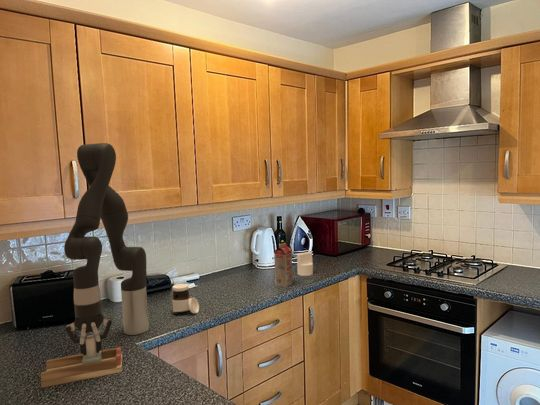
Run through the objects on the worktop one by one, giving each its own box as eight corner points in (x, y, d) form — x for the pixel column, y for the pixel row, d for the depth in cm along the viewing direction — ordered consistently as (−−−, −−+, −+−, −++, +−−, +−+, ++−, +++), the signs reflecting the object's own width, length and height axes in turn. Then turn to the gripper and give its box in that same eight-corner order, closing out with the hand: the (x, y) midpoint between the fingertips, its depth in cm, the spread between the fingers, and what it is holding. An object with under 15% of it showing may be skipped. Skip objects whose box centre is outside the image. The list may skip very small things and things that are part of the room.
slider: (84, 361, 125) (82, 334, 124) (101, 358, 127) (99, 332, 126) (82, 370, 119) (80, 342, 119) (100, 367, 121) (98, 339, 120)
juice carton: (275, 285, 206) (274, 244, 204) (282, 281, 211) (280, 242, 209) (286, 287, 202) (284, 245, 200) (292, 283, 208) (291, 243, 206)
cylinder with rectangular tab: (306, 270, 232) (306, 251, 231) (316, 274, 225) (315, 253, 224) (294, 273, 228) (293, 253, 227) (303, 276, 220) (302, 255, 219)
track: (48, 371, 123) (47, 357, 123) (122, 357, 131) (121, 344, 130) (41, 387, 114) (40, 373, 114) (121, 371, 121) (120, 358, 121)
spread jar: (172, 308, 176) (171, 283, 175) (198, 305, 179) (196, 281, 178) (173, 318, 164) (171, 291, 163) (200, 315, 167) (198, 288, 166)
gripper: (112, 293, 127) (116, 344, 128) (64, 299, 122) (68, 352, 124) (111, 300, 120) (115, 354, 121) (60, 307, 115) (64, 363, 117)
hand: (91, 352), depth 123 cm, fingers closed on slider, 3 cm apart
